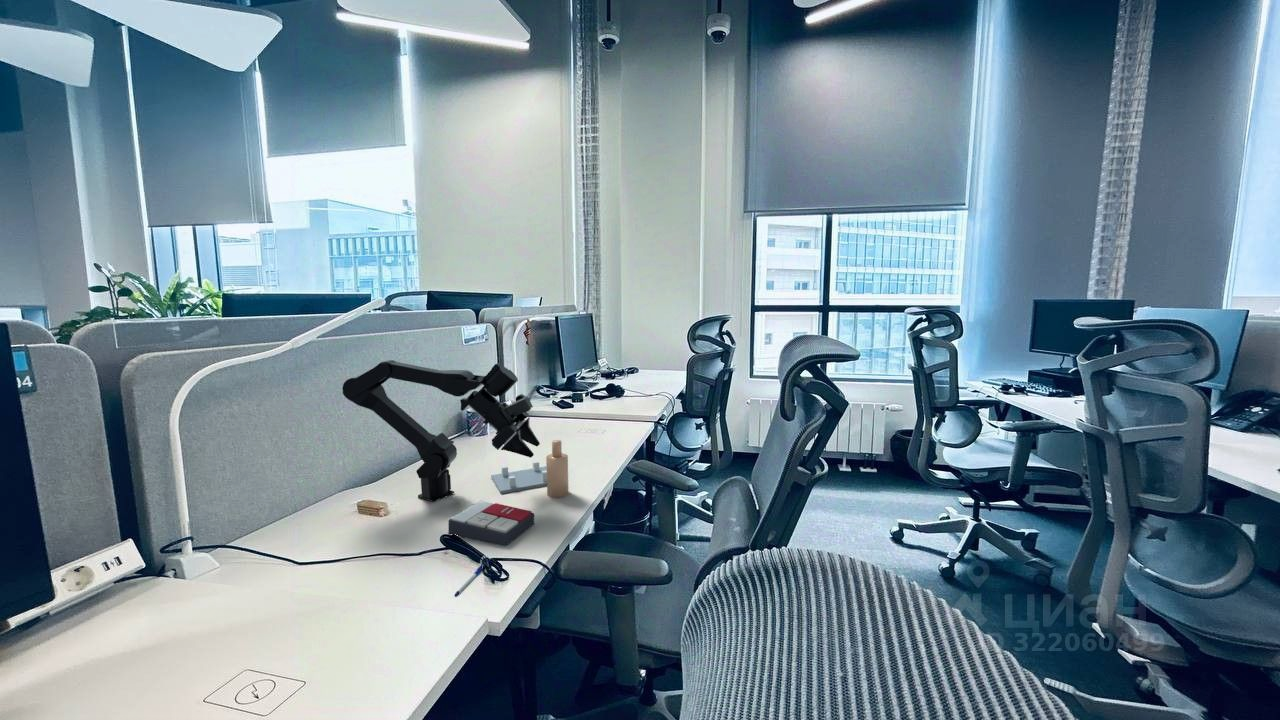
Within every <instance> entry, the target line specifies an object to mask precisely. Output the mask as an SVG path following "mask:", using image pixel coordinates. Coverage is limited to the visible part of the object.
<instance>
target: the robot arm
mask: <svg viewBox="0 0 1280 720" xmlns="http://www.w3.org/2000/svg"><path fill="white" fill-rule="evenodd" d="M390 379H394V380H399V381H404V382H410V383H414V384H420V385H425V386H430V387H433V388H436V389H438V390H439V391H441V392H443V393H446V394H448V395H451V396H453V397H463V396H464V395H467V394H469V393H470V392H471V393H470V394H469V395H468V396H467V397H464V398H461V399H460V400H459V401H460V410H461V411H462V412H463V411H464V410H466V409H468V407H470V408H471V409H472V410H473V411H474V412H476V413H475V414H478V415H479V416H480V417H481V418H482V419H483V420H484V421H483V422H482V423H483V424H485V425H490V426H491V427H492V428H493V429H494V430H495V431H496V432H495V434H496V435H495V436H493V438H492V439H491V445H492V446H493V447H494V449H495V450H497V451H498V450H501V451H506V452H507V451H508V452H509V453H510V452H511V453H513V454H517V455H521V456H524V457H527V458H533V456H534V455H535V454H534V452H533V451H532V450H531V448H530V447H529V446H528V445H527V444H526V443H528V444H530V445H532V446H535V447H539V446H540V445H541V443H540V441H539V439H538V438H537V436H536V435H535V433H534V432H533V431H534V430H533V429H532V428H531V426H530V417H529V416H530V414H529V413H528V412H529V411H531V410H532V408H533V404H532V402H531V398H530V397H529V396H528V395H524V394H523V393H521V394H518V395H517V396H515V401H513V402H512V403H510V404H508V403H507V402H506V401H505V402H500V401H499V400H498V399H497V398H496V397H504V395H506V394H507V392H508V391H509V390H511V389H512V387H513V386H514V385H515V384H516V383H517V382H518V377H517V375H516V374H515V373H514V372H513V371H512V370H511V369H508V368H507V367H505V366H503V365H501V364H500V363H499V362H497V363H495V364H494V365H493V366H492V367H491V369H490V371H488V372H487V373H486V375H485V376H484V375H480V374H479V375H478V374H474V373H473V372H472V371H469V370H466V369H463V370H462V369H448V370H443V369H441V370H439V369H434V368H430V367H424V366H418V365H414V364H409V363H404V362H399V361H396V360H394V359H388V360H385V361H381V362H379V363H378V364H377V365H375V366H374V367H373V368H371V369H369V370H367V371H366V372H364V373H362V374H360V375H358V376H354V377H350V378H348V379H346V380H345V381H344V382H343V384H342V395H343V396H344V397H345V398H346V399H347V400H348V401H350V402H352V403H354V404H355V405H357V406H358V407H362V408H364V409H367V410H370V411H372V412H374V413H375V414H376V415H377V416H378V417H380V418H381V420H383V421H384V422H385V423H386V424H388V425H389V426H390V427H391V428H392V429H394V430H395V431H396V432H397V433H398V434H400V435H401V436H402V437H403V438H404V439H406V440H407V441H408V443H410V444H411V445H412V446H414V447H415V448H416V451H417V453H418V455H419V457H420V459H421V461H422V462H423V463H422V464H421V466H419V468H417V470H416V472H415V473H416V475H417V477H418V478H419V479H420V487H421V489H420V490H421V493H420V494H418V495H417V498H419V499H422V500H427V501H429V502H433V503H434V502H435V503H436V502H437V501H439V500H442V499H444V498H446V497H449V496H452V495H454V494H455V491H454V490H451V489H452V483H451V474H450V470H449V469H448V468H450V466H451V464H452V463H453V461H455V459H456V458H457V455H458V449H457V446H455V444H454V443H455V441H453V440H451V439H450V438H448V437H447V435H446V434H444V433H443V432H441V433H438V435H435V434H433V433H430V432H429V431H428V430H427V429H426V428H425V427H423V426H422V425H421V424H420V423H418V422H417V421H416V420H415V419H414V418H412V417H411V416H410V414H408V413H407V412H406V411H405V410H403V409H402V408H401V407H400V406H399V405H397V404H396V403H395V402H394V401H393V400H391V399H390V397H388V395H387V393H386V391H385V388H384V386H383V384H384V383H385V382H387V381H388V380H390ZM481 386H482V387H481ZM480 387H481V388H480ZM477 388H480V389H479V391H477V390H476V389H477Z"/></svg>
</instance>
